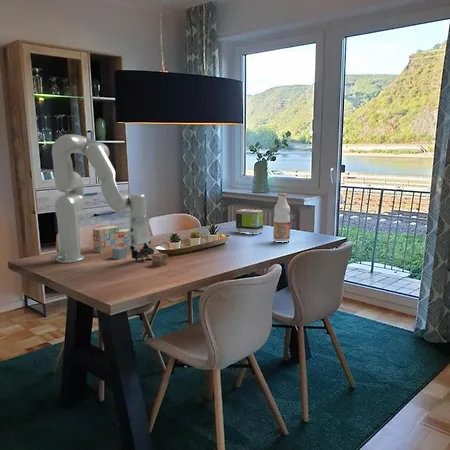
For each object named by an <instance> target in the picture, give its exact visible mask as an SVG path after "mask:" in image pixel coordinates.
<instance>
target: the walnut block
mask: <svg viewBox="0 0 450 450" xmlns="http://www.w3.org/2000/svg"><path fill="white" fill-rule="evenodd" d="M151 258H152V259H151V262H152V263H151V265H152V266H153V267H160V268H162V267H165V266H167V265H168V264H169V263H168V262H169V261H168V253H167V254H166V253H163V252H157V253H153V254H152V255H151Z"/></svg>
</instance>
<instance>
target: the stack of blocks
mask: <svg viewBox="0 0 450 450" xmlns="http://www.w3.org/2000/svg"><path fill="white" fill-rule="evenodd" d="M129 231H130V228H123V229H120V227H119V226H116V225H107V226H102V227H96V228H93V229H92V241H93V252H95V251H97V252H96V253H99V252H103V253H107V252H106V251H108V252H112V251H111V250H112V248H116V247H125V248H129V246H128V245H127V242H128V241H129ZM131 245H132V244H131Z"/></svg>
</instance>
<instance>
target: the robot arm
mask: <svg viewBox="0 0 450 450" xmlns="http://www.w3.org/2000/svg"><path fill="white" fill-rule="evenodd" d="M71 154H81V155H83V156H85V157H86V158H87V161H89V164H90V165H91V167H92V169H93V170H94V173H95V174H96V176H97V178H98V180H99V181H98V183H99V187H100V190H101V193H102V195H103V197H104V199H105V201H106V203H107V204H108V206H109V208H110V209H112V211H115V212H121V211H123V210H127V209H129V217H130V219H129V222H130V224H129V229H130V231H129V241H128V242H127V245H128V246H129V247H128V248H129V250H130V251H131V259H135V260H136V259H137V258H138V254H137V251H138V250H137V248H138V246H140V245H143V247H142V249H143V248H147V247H148V248H150V247H151V245H150V244H151V241H152V239H153V236H152V235H151V232H150V231H151V230H150V225H149V222H148V221H147V220H148V219H147V218H148V217H147V204H146V203H147V202H146V201H147V200H146V195H145V194H143V193H133V194H131V193H125V192H123V193H121V192H120V190H119V189H118V186H117V184H116V174H117V173H116V170H115V168H114V166H113V164H112V162H111V160H110V158H109V157H110V150H109V147H108V146H107V145H106V144H104V143H103V142H99V141H97V140H93V139H91V138H89V137H86V136H83V135H79V134H72V133H71V134H63V135H62V136H59V137H58V138H57V139H56V140H55V141H54V142H53V144H52V147H51V157H52V163H53V175H54V186H55V188H56V189H57V190H58V191H59V192H62V193H64V195H61V196H59V197H58V198H57V199H56V201H55V202H54V211H55V217H56V219H57V220H56V221H57V222H56V223H57V234H58V236H57V237H58V248H59V251H57V253H56V254H53V255H51V256H50V259H51V260H56V262H58V263H63V264H69V263H70V264H71V263H76V262H81V261H83V260H84V259H85V256H84V255H82V254H81V240H80V224H79V219H78V214H77V213H79V212H81V211H82V210H83V209H84V206H85V191H84V182H83V179H82V176H81V175H80V174H79V173H78V172H76V171H74V167H73V166H74V165H73V161H72V157H71ZM131 244H132V245H131ZM138 259H139V258H138ZM138 259H137V260H138Z"/></svg>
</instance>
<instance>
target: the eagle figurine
mask: <svg viewBox="0 0 450 450" xmlns="http://www.w3.org/2000/svg"><path fill="white" fill-rule="evenodd" d="M137 254H138V258H137V259H135V262H137V261H138V259H142V260H143V262H145V261H146V258H147V259H150V260H152V255H154V254H155V250H154V249H153V248H152V247H149V248H148V247H147V248H143V247H142V248H141V249H139V250H137Z"/></svg>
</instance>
